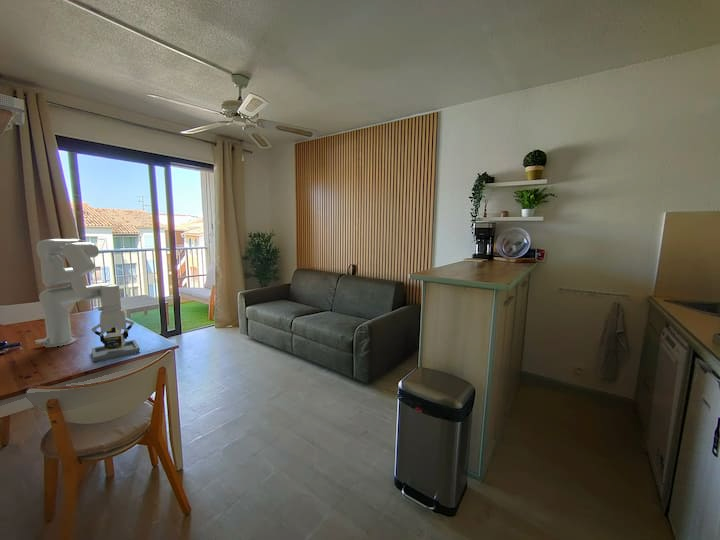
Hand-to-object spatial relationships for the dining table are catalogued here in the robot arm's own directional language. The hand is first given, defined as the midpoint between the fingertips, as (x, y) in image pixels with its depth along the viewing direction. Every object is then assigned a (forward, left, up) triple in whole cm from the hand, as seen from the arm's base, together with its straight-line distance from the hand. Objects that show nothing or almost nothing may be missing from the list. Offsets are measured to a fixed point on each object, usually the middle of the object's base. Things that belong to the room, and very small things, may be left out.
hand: (114, 340), depth 151 cm
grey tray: (0, 0, -7) cm, 7 cm away
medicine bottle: (0, 0, -4) cm, 4 cm away
